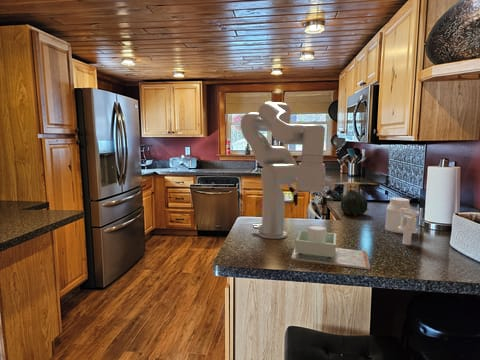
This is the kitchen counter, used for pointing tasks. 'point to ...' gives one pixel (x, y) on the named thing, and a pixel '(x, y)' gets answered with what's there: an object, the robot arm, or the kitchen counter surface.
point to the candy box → (350, 187)
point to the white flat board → (338, 258)
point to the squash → (354, 203)
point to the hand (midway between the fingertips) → (309, 206)
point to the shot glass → (316, 233)
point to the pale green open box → (316, 245)
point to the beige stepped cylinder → (408, 224)
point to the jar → (395, 213)
